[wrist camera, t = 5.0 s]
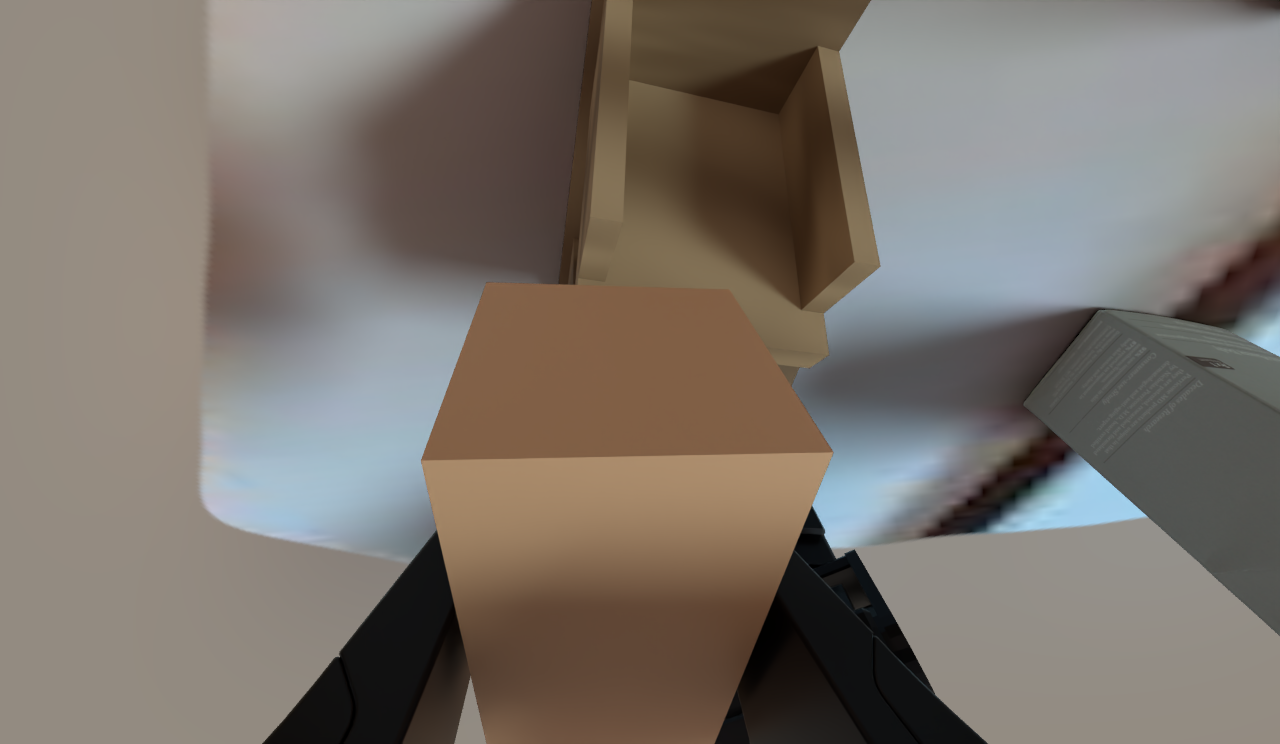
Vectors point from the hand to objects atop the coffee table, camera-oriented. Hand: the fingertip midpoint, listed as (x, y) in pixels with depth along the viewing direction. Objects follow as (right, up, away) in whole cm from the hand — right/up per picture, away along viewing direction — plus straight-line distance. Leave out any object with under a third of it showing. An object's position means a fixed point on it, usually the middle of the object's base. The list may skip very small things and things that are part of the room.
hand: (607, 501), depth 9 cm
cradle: (+2, +12, +8) cm, 14 cm away
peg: (0, +1, +1) cm, 1 cm away
